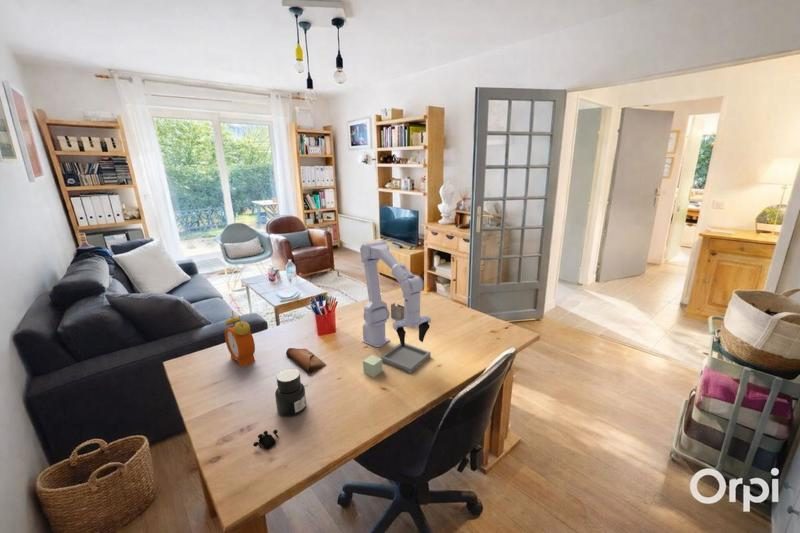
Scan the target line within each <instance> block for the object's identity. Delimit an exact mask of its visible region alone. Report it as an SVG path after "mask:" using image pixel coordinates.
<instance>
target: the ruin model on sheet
mask: <svg viewBox="0 0 800 533" xmlns="http://www.w3.org/2000/svg"><path fill="white" fill-rule="evenodd" d="M390 317H391V319H393V320H395V321H397V320H398V321H400V320H402V319H404V305H402V304H401V305H400V304H399V303H398V304H397V305H396V302H394V303H391V304H390ZM398 321H397V322H398Z"/></svg>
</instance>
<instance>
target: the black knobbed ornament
mask: <svg viewBox="0 0 800 533" xmlns="http://www.w3.org/2000/svg"><path fill="white" fill-rule="evenodd" d="M272 432H273V434H274V435H275V437H276V438H277V439H280V436H279V435H278V434H277V433H278V429H274V430H273V431H272ZM268 433H269V432H268V430H264V431H263V433H259V434H258V435H257V438H258V441H255V442H253V446H254V447H259V448H260V450H264V449H265V450H268V449H270V448H272V447H273V446H275V445H276V442H277V441H276V439H275V437H273V435H272V434H268ZM263 447H264V448H263Z"/></svg>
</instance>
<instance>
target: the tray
mask: <svg viewBox="0 0 800 533" xmlns="http://www.w3.org/2000/svg"><path fill="white" fill-rule="evenodd" d="M380 358H381V359H382V363H384V364H386V365H389V366H391V367H394V368H396V369H398V370H401V371H402V372H405V373H408V374H412V373H413V372H414V371H415V370H417V369H418V368H419V367H420V366H421V365H423V364H424V363H425V362H426V361H427V360H428V359H429V358H431V352H430V351H427V350H425V349H423V348H419V347H417V346H413V345H412V344H408V343H406V342H405V345H404V346H402V345H401V343H400V342H399V343H398V344H397V345H395V346H394V347H393V348H391V349H390V350H389V351H387V352H386V353H384V354H383V355H382V356H380Z"/></svg>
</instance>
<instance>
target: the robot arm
mask: <svg viewBox="0 0 800 533" xmlns="http://www.w3.org/2000/svg"><path fill="white" fill-rule="evenodd" d="M359 253H360V258H361V263H362V264H363V268H364V276H365V281H366V282H365V283H366V287H367V296H368V302H367V303H366V304H365V305H364V306H363V320H364V322H363V326H362V340H361V342H363V343H364V344H365V343H366V344H368V345H371V346H373V347H376V348H380V347H382V346H384V345H385V344H387V343H389V341H390V340H391V339H390V338H387V337H386V323H387V322H388V321H387V320H389V319H390V310H389V309H388V304H387V302H385V301H384V300H382V295H381V288H380V280H379V273H378V272H379V271H378V265H377V264H378V262H379V261H380V260H381V261H382V262H383V263H384V264H385V265H386V266H388V268H390V270H391V275H392V276H393V277H394V279H395V280H396V281H397V282H398V283H399V284H400V289H401V291H402V297H403V300H404V301H403V302H404V305H403V306H404V319H402V320H400V321H395V322H392V329H393V330H395V332H396V333H397V336H398V339H399V344H400V343H401V345H402V346H404V345H405V343H406V342H405V341H406V340H405V339H406V333H407V331H406V330H405V328H407V327H414V328H416V327H417V328H418V340H419V341H420V342H421V343H423V342H424V339H425V336H426V334H427V333H428V331H429V329H430V328H431V326H430V324H431V322H432V321H431V320H432V318H431V316H429V315H427V316H426V315H425V316H421V292H422V291H423V290H424V289H425V282H424V279H423V278H422V277H421V276H420V275H416V274H413V272H412V271H410V269H408V267H407V266H406V264H404V263H399V262H398V261H397V259H396V257H395V256H394V255H393V254H392V253H391V251H390V245H389V244H388V243H387V241H385V240H384V239H382V240H378V241H371V242H364V243H362V245H361V246H360V247H359Z"/></svg>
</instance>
